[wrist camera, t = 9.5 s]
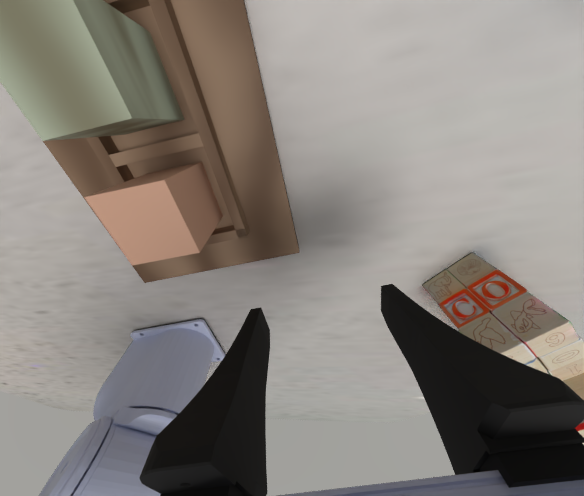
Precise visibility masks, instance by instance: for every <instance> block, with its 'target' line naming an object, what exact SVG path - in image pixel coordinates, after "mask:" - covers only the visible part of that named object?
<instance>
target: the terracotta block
mask: <svg viewBox="0 0 584 496" xmlns="http://www.w3.org/2000/svg"><path fill="white" fill-rule="evenodd" d="M84 198H85V199H86V201H87V202H88V203H89V205H90V206H91V208H92V209H93V211H94V212H95V213H96V215H97V216H98V218H99V219H100V220H101V222H102V223H103V225H104V226H105V228H106V229H107V230H108V232H109V233H110V235H111V236H112V238H113V239H114V240H115V242H116V243H117V245H118V246H119V247H120V249H121V250H122V252H123V253H124V255H125V256H126V257H127V259H128V260H129V262H130V263H131V265H132V266H133V265H138V264H143V263H148V262H153V261H159V260H164V259H169V258H174V257H180V256H185V255H190V254H195V253H200V252H201V250H202V248H203V247H204V245H205V244H206V242H207V241H208V239H209V237H210V236H211V234H212V233H213V231H214V230H215V228H216V226H217V225H218V223H219V222H220V220H221V218H222V217H223V215H222V213H221V210H220V207H219V205H218V202H217V199H216V197H215V194H214V192H213V189H212V186H211V184H210V181H209V179H208V176H207V173H206V171H205V168H204V166H203V163H202V162H198V163H194V164H189V165H185V166H180V167H175V168H171V169H166V170H162V171H157V172H153V173H148V174H145V175H142V176H139V177H137V178H134V179H131V180H129V181H126V182H124V183H121V184H118V185H116V186H113V187H110V188H108V189H105V190H102V191H100V192H97V193H94V194H92V195H89V196H87V197H84Z"/></svg>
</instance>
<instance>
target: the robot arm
mask: <svg viewBox="0 0 584 496" xmlns="http://www.w3.org/2000/svg"><path fill="white" fill-rule="evenodd" d="M381 312H382V314H383V317H384V319H385V321H386V324H387V326H388V328H389V330H390V332H391V333H392V335H393V337H394V339H395V341H396V342H397V344H398V346H399V348H400V349H401V351H402V353H403V355H404V357H405V358H406V360H407V362H408V364H409V366H410V367H411V369H412V371H413V373H414V376H415V378H416V380H417V382H418V384H419V387H420V389H421V391H422V393H423V396H424V398H425V400H426V403H427V405H428V407H429V410H430V412H431V414H432V417H433V419H434V421H435V424H436V426H437V429H438V431H439V433H440V436H441V439H442V441H443V444H444V446H445V449H446V451H447V454H448V456H449V459H450V461H451V464H452V467H453V470H454V472H455V475H451V476H442V477H433V478H425V479H416V480H408V481H399V482H390V483H381V484H373V485H364V486H355V487H347V488H338V489H330V490H321V491H312V492H304V493H296V494H286V495H278V496H584V445H583V443H584V437H583V436H582V435H581V434H580V433H579V432H578V431H577V430H576V429H575V428H576V427H577V426H578V425H579V424H580V423H581V422H582V421H583V420H584V400H583V399H582V398H581V397H580V396H579V395H577V394H576V393H575V392H574V391H573V390H572V389H571V388H570V387H569V386H568V385H566V384H565V383H564V382H563V381H562V380H561V379H559V378H557V377H554V376H552V375H550V374H547V373H545V372H542V371H540V370H537V369H535V368H532V367H530V366H527V365H525V364H522V363H520V362H518V361H516V360H514V359H511V358H509V357H507V356H505V355H502V354H500V353H498V352H496V351H494V350H492V349H490V348H488V347H486V346H484V345H482V344H480V343H478V342H476V341H474V340H473V339H471V338H469V337H467V336H465V335H464V334H462V333H460V332H458V331H457V330H455V329H453V328H452V327H450V326H448V325H447V324H445V323H444V322H442V321H441V320H439V319H438V318H436V317H435V316H433V315H432V314H430V313H429V312H428V311H426V310H425V309H424V308H422V307H421V306H419V305H418V304H417V303H415V302H414V301H413V300H412V299H410V298H409V297H408V296H406V295H405V294H404V293H403V292H401V291H400V290H399V289H398V288H397V287H395V286H394V285H393V284H389V285H384V286H381ZM130 336H131V337H132V338H133V339H134V340H133V341H132V343H131V344H130V346H129V347H128V349H127V350H126V352H125V353H124V355H123V356H122V357H121V359H120V360H119V362H118V363H117V365H116V366H115V368H114V369H113V371H112V372H111V374H110V375H109V376H108V378H107V379H106V381H105V382H104V384H103V385H102V387H101V389H100V391H99V393H98V395H97V398H96V401H95V405H94V420H95V421H94V422H92V423H90V425H88V426H87V428H86V429H85V430H84V431H83V432H82V433H81V435H80V436H79V437H78V439H77V440H76V441H75V442H74V444H73V445H72V446H71V448H70V449H69V451H68V452H67V454H66V455H65V456H64V458H63V459H62V461H61V462H60V464H59V465H58V466H57V468H56V469H55V471H54V473H53V474H52V475H51V477H50V479H49V480H48V482H47V483H46V485H45V487H44V488H43V490H42V491H41V493H40V494H39V496H266V494H267V476H266V475H267V474H266V441H265V440H266V439H265V396H266V381H267V371H268V361H269V351H270V330H269V327H268V324H267V322H266V319H265V317H264V314H263V312H262V309H261V308H256V309H251V310H250V312H249V314H248V316H247V318H246V320H245V322H244V324H243V326H242V328H241V330H240V332H239V333H238V335H237V337H236V339H235V341H234V342H233V344H232V346H231V347H230V349H229V351H228V352H227V354H226V355H225V354H224V352H223V350H222V349H221V347H220V345H219V344H218V342H217V340H216V339H215V337H214V335H213V334H212V332H211V330H210V329H209V327H208V325H207V324H206V322H205V321H204V320H202V319H198V320H193V321H187V322H182V323H176V324H171V325H165V326H159V327H154V328H148V329H143V330H137V331H133V332H132V333H131V334H130ZM216 361H222V362H221V363H220V364H219V366H218V367H217V369H216V370H215V372H214V373H213V374H212V376H211V377H210V378H209V379H208V381H207V382H206V383H205V380H206V377H207V374H208V370H209V367H210V364H211V362H216ZM204 384H205V385H204Z"/></svg>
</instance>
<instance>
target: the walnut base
mask: <svg viewBox="0 0 584 496" xmlns="http://www.w3.org/2000/svg"><path fill="white" fill-rule="evenodd" d="M0 82H1V84H2V85H3V86H4V88H5V89H6V91H7V92H8V93H9V95H10V96H11V98H12V99H13V100H14V102H15V103H16V104H17V106H18V107H19V109H20V110H21V111H22V113H23V114H24V116H25V117H26V118H27V120H28V121H29V123H30V124H31V125H32V127H33V128H34V130H35V131H36V132H37V134H38V135H39V136H40V138H41V139H42V141H43V142H44V143H45V145H46V146H47V148H48V149H49V150H50V152H51V153H52V155H53V156H54V157H55V159H56V160H57V161H58V163H59V164H60V166H61V167H62V168H63V170H64V171H65V173H66V174H67V175H68V177H69V178H70V180H71V181H72V182H73V184H74V185H75V187H76V188H77V189H78V191H79V192H80V193H81V195H82V196H83V198H84V197H87V196H89V195H92V194H94V193H97V192H100V191H102V190H105V189H108V188H110V187H113V186H116V185H118V184H121V183H124V182H126V181H129V180H131V179H134V178H137V177H139V176H142V175H145V174H148V173H153V172H157V171H162V170H166V169H171V168H175V167H180V166H185V165H189V164H194V163H198V162H202V163H203V166H204V168H205V171H206V173H207V176H208V179H209V181H210V184H211V186H212V189H213V192H214V194H215V197H216V199H217V202H218V205H219V207H220V210H221V213H222V215H223V217H222V218H221V220H220V222H219V223H218V225H217V226H216V228H215V230H214V231H213V233H212V234H211V236H210V237H209V239H208V241H207V242H206V244H205V245H204V247H203V248H202V250H201V252H200V253H195V254H190V255H185V256H180V257H174V258H169V259H164V260H159V261H153V262H148V263H143V264H138V265H133V267H134V269H135V270H136V271H137V273H138V274H139V276H140V277H141V278H142V280H143V281H144V282H145V283H146V282H152V281H157V280H162V279H167V278H172V277H177V276H182V275H187V274H192V273H197V272H203V271H208V270H213V269H218V268H223V267H228V266H233V265H238V264H243V263H249V262H254V261H259V260H264V259H269V258H274V257H279V256H284V255H289V254H295V253H299V247H298V242H297V237H296V233H295V228H294V224H293V219H292V215H291V210H290V206H289V201H288V197H287V192H286V188H285V183H284V179H283V174H282V170H281V165H280V161H279V156H278V152H277V147H276V143H275V138H274V134H273V129H272V125H271V120H270V116H269V111H268V107H267V102H266V98H265V93H264V89H263V84H262V79H261V75H260V70H259V66H258V61H257V57H256V52H255V48H254V43H253V39H252V34H251V30H250V25H249V21H248V16H247V12H246V7H245V3H244V0H0ZM84 199H85V198H84ZM85 200H86V199H85ZM86 202H87V201H86ZM87 203H88V202H87ZM88 205H89V203H88ZM89 206H90V205H89ZM90 207H91V206H90ZM91 209H92V208H91ZM92 210H93V209H92ZM93 212H94V211H93ZM94 213H95V212H94ZM95 214H96V213H95ZM96 216H97V215H96ZM97 217H98V216H97ZM98 219H99V218H98ZM99 220H100V219H99ZM100 221H101V220H100ZM101 223H102V222H101ZM102 224H103V223H102ZM104 227H105V226H104ZM106 230H107V229H106ZM107 231H108V230H107ZM109 234H110V233H109ZM111 237H112V236H111ZM114 241H115V240H114ZM116 244H117V243H116ZM119 248H120V247H119ZM121 251H122V250H121Z"/></svg>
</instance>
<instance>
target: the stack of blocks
mask: <svg viewBox="0 0 584 496" xmlns="http://www.w3.org/2000/svg"><path fill="white" fill-rule="evenodd" d="M422 286H423V287H424V288H425V289H426V291H427V292H428V293H429V294H430V295H431V296H432V298H433V299H434V300H435V301H436V302H437V303H438V305H439V307H440V308H441V309H442V310H443V312H444V313H445V314H446V315H447V316H448V317H449V319H450V320H451V321H452V322H453V323H454V325H455V326H456V327H457V328H458V329H459V330H458V331H459V332H460V333H462V334H464V335H465V336H467V337H469V338H471V339H473V340H474V341H476V342H478V343H480V344H482V345H484V346H486V347H488V348H490V349H492V350H494V351H496V352H498V353H500V354H502V355H505V356H507V357H509V358H511V359H514V360H516V361H518V362H520V363H522V364H525V365H527V366H530V367H532V368H535V369H537V370H540V371H542V372H545V373H547V374H550V375H552V376H554V377H557V378H559V379H561V380H562V381H563V382H564V383H565V384H566V385H568V386H569V387H570V388H571V389H572V390H573V391H574V392H575V393H576V394H577V395H579V396H580V397H581V398H582V399H583V400H584V342H583V340H582V338H581V337H580V336H578V334H577V333H576V331H575V329H574V327H573V325H572V323H571V322H570V321H569V320H567V319H566V318H564V317H563V316H561V315H560V314H559V313H557V312H556V311H555V310H553V309H552V308H550V307H549V306H547V305H546V304H544V303H543V302H542V301H540V300H539V299H537V298H536V297H534V296H533V295H531V294H530V293H529V292H528V290H527V289H525V288H524V287H523V286H521V285H520V284H518V283H517V282H515V281H514V280H513V279H511V278H510V277H508V276H507V275H505V274H504V273H503V272H501V271H500V270H497V269H496V268H495V267H493V266H492V265H490V264H489V263H487V262H486V261H485V260H483V259H482V258H480V257H479V256H477V255H476V254H475V253H471V254H469V255H468V256H466V257H465V258H463V259H461V260H460V261H458V262H457V263H455V264H454V265H452V266H451V267H449V268H448V269H447V270H444V271H443V272H441V273H440V274H438V275H437V276H435V277H434V278H432V279H430V280H429V281H427V282H426V283H425V284H423V285H422ZM575 429H576V430H577V431H578V432H579V433H580V434H581V435H582V436H583V437H584V420H583V421H582V422H581V423H580V424H579V425H578V426H577V427H576V428H575ZM583 445H584V443H583Z"/></svg>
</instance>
